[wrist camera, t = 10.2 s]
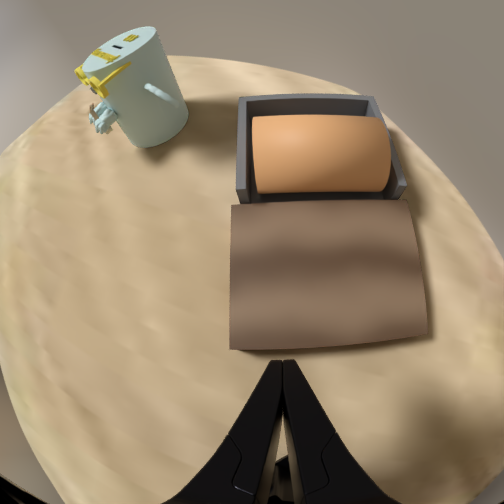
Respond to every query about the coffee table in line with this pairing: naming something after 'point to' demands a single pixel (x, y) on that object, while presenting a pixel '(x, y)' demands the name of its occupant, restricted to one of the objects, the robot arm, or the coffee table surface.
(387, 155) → the roller
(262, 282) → the board
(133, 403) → the coffee table surface
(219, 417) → the coffee table surface
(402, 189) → the tray
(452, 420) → the coffee table surface
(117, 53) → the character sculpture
